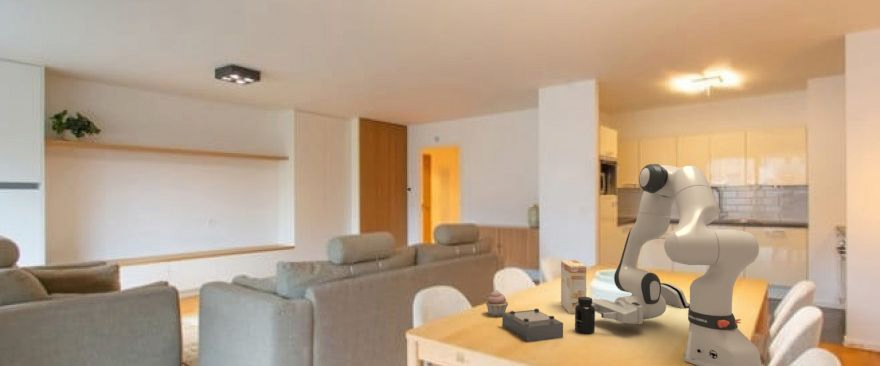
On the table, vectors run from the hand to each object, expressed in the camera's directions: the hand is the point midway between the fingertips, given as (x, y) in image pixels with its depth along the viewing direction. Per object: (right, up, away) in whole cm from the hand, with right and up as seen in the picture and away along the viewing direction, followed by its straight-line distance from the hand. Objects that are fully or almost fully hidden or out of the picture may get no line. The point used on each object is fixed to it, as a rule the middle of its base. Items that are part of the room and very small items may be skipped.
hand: (594, 312), depth 169 cm
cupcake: (-32, -7, +20) cm, 39 cm away
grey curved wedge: (+46, -7, +38) cm, 60 cm away
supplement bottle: (-4, -7, -1) cm, 8 cm away
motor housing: (-23, -7, 0) cm, 24 cm away
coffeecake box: (+1, -7, +29) cm, 30 cm away
